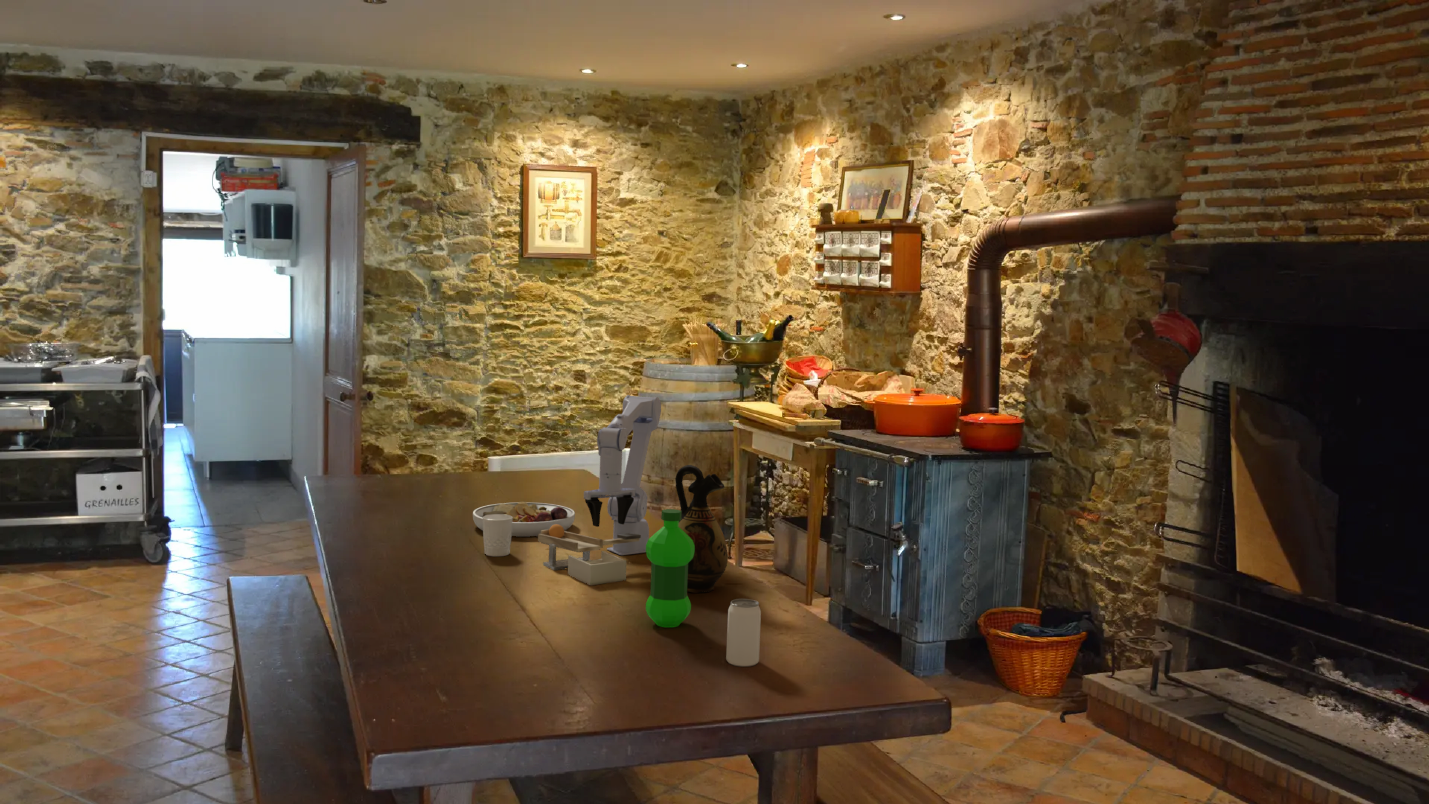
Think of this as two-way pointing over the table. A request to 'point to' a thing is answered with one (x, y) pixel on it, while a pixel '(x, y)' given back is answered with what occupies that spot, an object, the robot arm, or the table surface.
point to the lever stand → (561, 563)
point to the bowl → (528, 516)
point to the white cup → (497, 534)
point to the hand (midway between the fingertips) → (608, 524)
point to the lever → (583, 541)
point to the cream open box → (598, 569)
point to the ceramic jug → (702, 531)
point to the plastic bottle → (669, 571)
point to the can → (743, 633)
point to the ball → (556, 531)
